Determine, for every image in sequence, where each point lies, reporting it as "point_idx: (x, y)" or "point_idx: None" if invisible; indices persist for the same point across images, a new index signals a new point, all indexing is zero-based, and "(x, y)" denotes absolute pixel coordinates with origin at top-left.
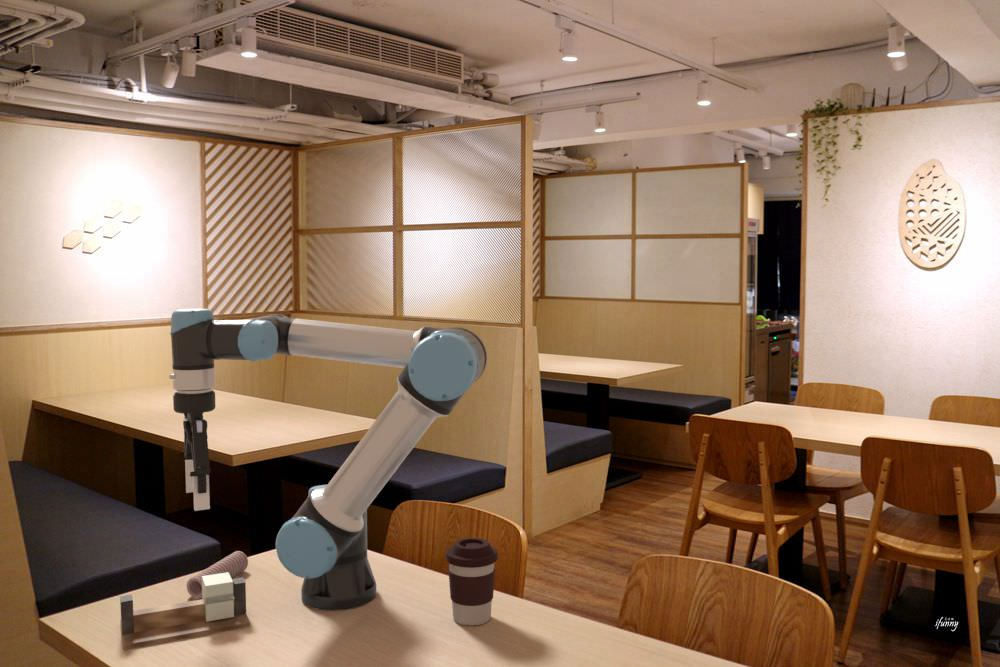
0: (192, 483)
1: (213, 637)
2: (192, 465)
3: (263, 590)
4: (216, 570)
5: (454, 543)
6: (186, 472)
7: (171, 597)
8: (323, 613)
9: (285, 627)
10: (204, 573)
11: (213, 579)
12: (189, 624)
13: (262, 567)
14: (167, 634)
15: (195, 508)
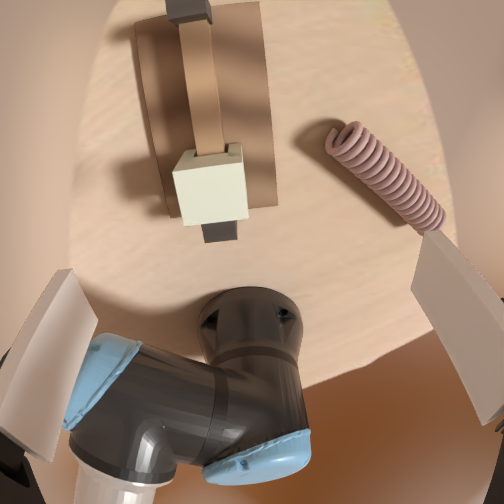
0: (440, 287)
1: (143, 160)
2: (489, 371)
3: (321, 240)
4: (380, 183)
5: None
6: (485, 311)
7: (358, 92)
8: (196, 304)
9: (158, 259)
10: (369, 161)
11: (210, 187)
12: (189, 120)
13: (415, 245)
14: (155, 87)
15: (55, 280)
